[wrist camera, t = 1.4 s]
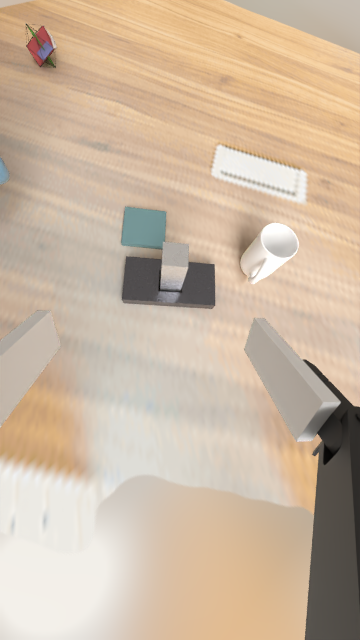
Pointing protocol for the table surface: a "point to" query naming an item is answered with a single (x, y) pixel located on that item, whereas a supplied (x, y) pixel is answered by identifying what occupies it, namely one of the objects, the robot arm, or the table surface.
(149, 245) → the teal mat
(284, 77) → the table surface
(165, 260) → the steel peg
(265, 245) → the mug
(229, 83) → the table surface
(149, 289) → the block
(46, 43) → the geometric puzzle
